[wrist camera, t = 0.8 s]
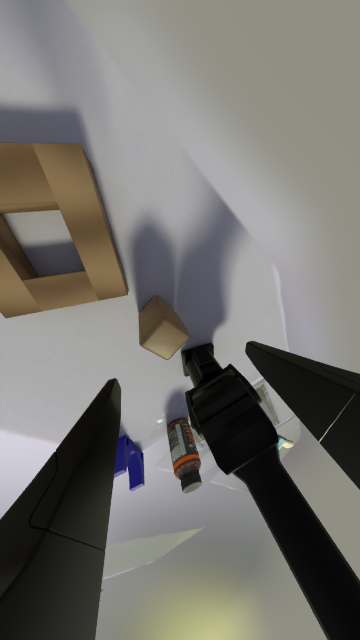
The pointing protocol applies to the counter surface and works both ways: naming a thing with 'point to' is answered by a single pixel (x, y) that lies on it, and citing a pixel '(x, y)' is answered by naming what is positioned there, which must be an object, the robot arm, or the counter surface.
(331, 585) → the robot arm
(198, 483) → the supplement bottle
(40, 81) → the counter surface
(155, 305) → the wooden block
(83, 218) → the socket collar
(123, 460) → the cable clip
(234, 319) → the counter surface
